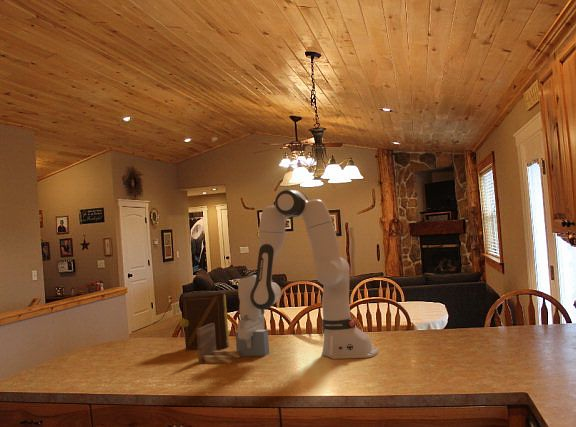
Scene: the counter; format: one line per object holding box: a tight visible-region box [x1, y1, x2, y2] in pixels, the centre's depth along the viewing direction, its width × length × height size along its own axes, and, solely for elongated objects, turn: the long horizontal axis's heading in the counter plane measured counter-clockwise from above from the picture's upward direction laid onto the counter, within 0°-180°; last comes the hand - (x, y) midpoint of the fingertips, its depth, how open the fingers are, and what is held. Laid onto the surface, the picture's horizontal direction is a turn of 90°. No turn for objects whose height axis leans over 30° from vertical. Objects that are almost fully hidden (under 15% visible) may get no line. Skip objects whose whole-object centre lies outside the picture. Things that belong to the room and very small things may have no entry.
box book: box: [235, 329, 270, 357], centre depth 227 cm, size 13×4×10 cm, turn 70°
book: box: [179, 291, 230, 351], centre depth 247 cm, size 22×8×25 cm, turn 84°
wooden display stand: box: [196, 323, 241, 364], centre depth 222 cm, size 14×13×14 cm
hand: (252, 345), depth 227 cm, fingers closed on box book, 4 cm apart
